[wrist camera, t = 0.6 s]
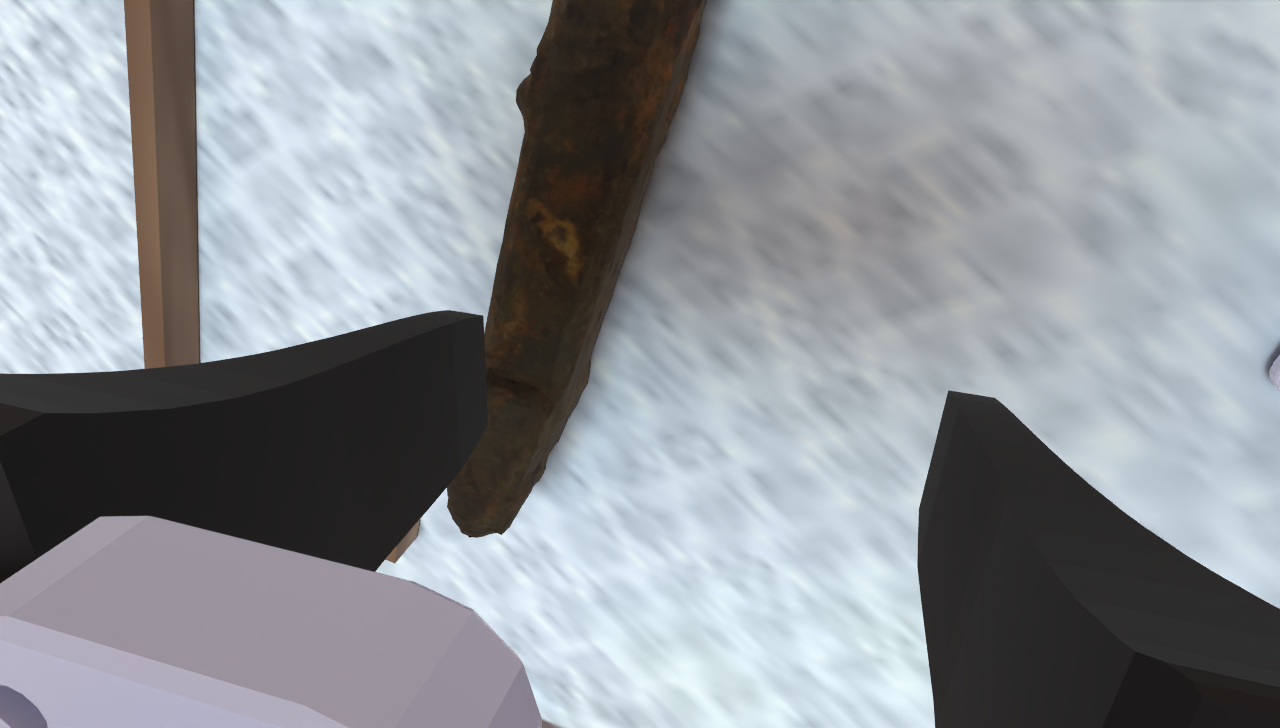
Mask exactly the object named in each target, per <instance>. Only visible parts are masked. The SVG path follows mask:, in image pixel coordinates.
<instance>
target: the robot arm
mask: <svg viewBox="0 0 1280 728" xmlns="http://www.w3.org/2000/svg"><path fill="white" fill-rule="evenodd" d="M1269 376H1270V380H1271V381H1272V383H1273V385H1274V386H1275V387H1276V388H1277V389H1278V390H1279V391H1280V355H1279V356H1278V358H1277V359H1276V360H1275V361H1274V363H1273V364H1272V366H1271V369H1270V371H1269ZM487 426H488V410H487V388H486V367H485V345H484V323H483V316H482V315H476V314H469V313H463V312H457V311H451V310H447V311H437V312H430V313H425V314H420V315H416V316H411V317H407V318H403V319H399V320H395V321H391V322H387V323H383V324H380V325H376V326H372V327H368V328H365V329H361V330H357V331H353V332H350V333H346V334H342V335H338V336H334V337H330V338H326V339H322V340H317V341H313V342H309V343H305V344H301V345H296V346H292V347H288V348H284V349H280V350H275V351H270V352H265V353H260V354H255V355H249V356H244V357H238V358H232V359H225V360H219V361H213V362H206V363H199V364H191V365H180V366H170V367H160V368H149V369H139V370H128V371H114V372H94V373H65V374H0V728H542V726H541V716H540V713H539V710H538V707H537V704H536V701H535V698H534V695H533V692H532V689H531V686H530V683H529V680H528V677H527V674H526V671H525V668H524V666H523V663H522V661H521V660H520V658H519V657H518V655H517V654H516V653H515V652H514V651H513V650H512V649H511V648H510V647H509V646H508V645H507V644H506V643H505V642H504V641H503V640H502V639H501V638H500V637H499V636H498V635H497V634H496V633H495V632H494V631H493V630H492V628H491V627H490V626H489V625H488V624H487V623H486V622H485V621H484V620H483V619H482V618H481V617H480V616H479V615H478V614H477V613H476V612H475V611H474V610H473V609H471V608H469V607H467V606H465V605H462V604H460V603H458V602H456V601H454V600H452V599H450V598H448V597H445V596H443V595H441V594H439V593H437V592H435V591H433V590H431V589H428V588H426V587H424V586H422V585H420V584H418V583H416V582H413V581H409V580H405V579H401V578H397V577H393V576H389V575H385V574H381V573H377V572H375V571H376V570H377V569H378V567H379V566H380V565H381V564H382V562H383V561H384V560H385V559H386V558H387V557H388V555H389V554H390V553H391V552H392V551H393V550H394V548H395V547H396V546H397V545H398V544H399V543H400V541H401V540H402V539H403V538H404V537H405V536H406V534H407V533H408V532H409V531H410V530H411V529H412V527H413V526H414V525H415V524H416V523H417V522H418V520H419V519H420V518H421V517H422V516H423V515H424V513H425V512H426V511H427V510H428V509H429V508H430V507H431V505H432V504H433V503H434V502H435V501H436V499H437V498H438V497H439V496H440V495H441V493H442V492H443V491H444V490H445V489H446V488H447V486H448V485H449V484H450V483H451V482H452V480H453V479H454V478H455V477H456V475H457V474H458V473H459V472H460V470H461V469H462V468H463V466H464V464H465V463H466V461H467V460H468V458H469V457H470V455H471V453H472V452H473V450H474V449H475V447H476V445H477V443H478V442H479V440H480V438H481V436H482V435H483V433H484V431H485V430H486V428H487ZM918 575H919V584H920V593H921V602H922V610H923V618H924V627H925V635H926V643H927V651H928V659H929V667H930V675H931V684H932V692H933V700H934V714H935V728H1280V609H1279V608H1277V607H1275V606H1273V605H1271V604H1269V603H1267V602H1266V601H1264V600H1262V599H1260V598H1258V597H1257V596H1255V595H1253V594H1251V593H1250V592H1248V591H1246V590H1244V589H1243V588H1241V587H1239V586H1237V585H1235V584H1234V583H1232V582H1230V581H1228V580H1227V579H1225V578H1223V577H1221V576H1219V575H1218V574H1216V573H1214V572H1213V571H1211V570H1209V569H1208V568H1206V567H1204V566H1203V565H1201V564H1200V563H1198V562H1196V561H1195V560H1193V559H1191V558H1190V557H1188V556H1187V555H1185V554H1184V553H1182V552H1181V551H1179V550H1178V549H1176V548H1175V547H1173V546H1172V545H1170V544H1169V543H1167V542H1166V541H1164V540H1163V539H1161V538H1160V537H1158V536H1157V535H1155V534H1154V533H1152V532H1151V531H1149V530H1148V529H1147V528H1145V527H1144V526H1142V525H1141V524H1139V523H1138V522H1137V521H1135V520H1134V519H1133V518H1131V517H1130V516H1129V515H1127V514H1126V513H1125V512H1123V511H1122V510H1121V509H1119V508H1118V507H1117V506H1116V505H1114V504H1113V503H1112V502H1111V501H1109V500H1108V499H1107V498H1106V497H1104V496H1103V495H1102V494H1101V493H1099V492H1098V491H1097V490H1096V489H1095V488H1093V487H1092V486H1091V485H1090V484H1088V483H1087V482H1086V481H1085V480H1084V479H1083V478H1081V477H1080V476H1079V475H1078V474H1077V473H1076V472H1074V471H1073V470H1072V469H1071V468H1070V467H1069V466H1068V465H1067V464H1066V463H1064V462H1063V461H1062V460H1061V459H1060V458H1059V457H1058V456H1057V455H1056V454H1055V453H1054V452H1052V451H1051V450H1050V449H1049V448H1048V447H1047V446H1046V445H1045V444H1044V443H1043V442H1042V441H1041V440H1040V439H1039V438H1038V437H1037V436H1036V435H1035V434H1033V433H1032V432H1031V431H1030V430H1029V429H1028V428H1027V427H1026V426H1025V425H1024V424H1023V423H1022V422H1021V421H1020V420H1019V419H1018V418H1017V417H1016V416H1015V415H1014V414H1013V413H1012V412H1011V411H1010V410H1008V409H1007V408H1006V407H1005V406H1004V405H1003V404H1002V403H1001V402H999V401H998V400H997V399H995V398H992V397H986V396H980V395H973V394H967V393H961V392H955V391H948V394H947V399H946V403H945V407H944V411H943V415H942V419H941V423H940V427H939V431H938V435H937V439H936V443H935V447H934V451H933V455H932V459H931V463H930V467H929V471H928V475H927V479H926V483H925V487H924V491H923V495H922V499H921V503H920V507H919V526H918Z"/></svg>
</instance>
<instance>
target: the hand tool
mask: <svg viewBox="0 0 1280 728" xmlns="http://www.w3.org/2000/svg"><path fill="white" fill-rule="evenodd" d="M706 2H707V0H553V3H552V8H551V13H550V17H549V22H548V25H547V27H546V30H545V32H544V35H543V37H542V39H541V41H540V43H539V45H538V47H537V56H536V58H535V60H534V62H533V64H532V66H531V69H530V71H531V74H530V75H529V76H528V77H526V78H525V79H524V80H523V82H522V83H521V84H520V85H519V87H518V89H517V93H516V102H517V105H518V107H519V109H520V111H521V113H522V116H523V120H524V128H525V134H524V138H523V143H522V147H521V152H520V158H519V163H518V168H517V173H516V178H515V183H514V187H513V192H512V196H511V200H510V204H509V209H508V214H507V219H506V224H505V230H504V236H503V242H502V247H501V251H500V255H499V259H498V263H497V268H496V274H495V280H494V286H493V291H492V297H491V302H490V307H489V312H488V318H487V323H486V328H485V333H484V345H485V367H486V388H487V410H488V426H487V428H486V430H485V431H484V433H483V435H482V436H481V438H480V440H479V442H478V443H477V445H476V447H475V449H474V450H473V452H472V453H471V455H470V457H469V458H468V460H467V461H466V463H465V464H464V466H463V468H462V469H461V470H460V472H459V473H458V474H457V475H456V477H455V478H454V479H453V480H452V482H451V483H450V484H449V485H448V486H447V493H448V497H449V498H448V505H447V507H448V509H449V511H450V514H451V516H452V519H453V520H454V522H455V523H456V524H457V526H458V527H459V528H460V530H461V532H462V533H463V534H465V535H468V536H469V537H476V538H478V537H483V536H486V535H489V534H493V533H499V534H501V535H502V534H503V533H504V532H505V531H506V530H507V529H508V528H509V527H510V526H511V524H512V522H513V520H514V518H515V517H516V515H517V514H518V512H519V510H520V508H521V507H522V505H523V504H524V502H525V500H526V499H527V497H528V496H529V494H530V493H531V491H532V488H533V486H534V485H535V484H536V483H537V482H538V481H539V480H540V478H541V477H542V475H543V473H544V471H545V469H546V462H547V458H548V455H549V453H550V451H551V450H552V448H553V446H554V445H555V444H556V443H557V442H558V441H559V439H560V437H561V434H562V432H563V429H564V427H565V425H566V423H567V420H568V418H569V417H570V415H571V413H572V412H573V410H574V409H575V407H576V405H577V403H578V401H579V398H580V396H581V394H582V392H583V390H584V389H585V387H586V385H587V384H588V378H589V372H590V360H589V359H590V356H591V353H592V350H593V347H594V344H595V342H596V339H597V336H598V333H599V330H600V327H601V324H602V321H603V319H604V316H605V313H606V310H607V308H608V305H609V303H610V300H611V297H612V294H613V291H614V288H615V285H616V282H617V279H618V276H619V273H620V270H621V267H622V264H623V261H624V258H625V256H626V253H627V250H628V248H629V245H630V242H631V240H632V237H633V234H634V231H635V228H636V224H637V221H638V217H639V213H640V208H641V203H642V199H643V196H644V193H645V190H646V187H647V185H648V182H649V179H650V176H651V174H652V170H653V166H654V162H655V159H656V157H657V155H658V153H659V151H660V149H661V148H662V146H663V144H664V142H665V140H666V132H667V129H668V127H669V125H670V123H671V120H672V118H673V116H674V114H675V112H676V109H677V106H678V103H679V100H680V97H681V94H682V91H683V88H684V86H685V83H686V80H687V76H688V69H689V63H690V59H691V56H692V53H693V50H694V48H695V45H696V42H697V39H698V36H699V28H700V19H701V16H702V13H703V10H704V7H705V5H706Z"/></svg>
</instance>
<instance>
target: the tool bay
mask: <svg viewBox="0 0 1280 728" xmlns="http://www.w3.org/2000/svg"><path fill="white" fill-rule="evenodd" d="M124 10H125V27H126V45H127V63H128V80H129V98H130V116H131V133H132V151H133V169H134V186H135V204H136V222H137V239H138V257H139V275H140V292H141V310H142V328H143V345H144V363H145V369H149V368H160V367H170V366H180V365H191V364H199V305H198V245H197V186H196V127H195V68H194V8H193V0H124ZM419 523H420V520H418V522H417V523H416V524H415V525H414V526H413V527H412V529H411V530H410V531H409V532H408V533H407V534H406V536H405V537H404V538H403V539H402V540H401V541H400V543H399V544H398V545H397V546H396V547H395V548H394V550H393V551H392V552H391V553H390V554H389V555H388V557H387V558H386V560H388V561H391V562H393V563H396V561H397V560H398V559H399V558H400V557H401V555H402V554H403V553H404V552H405V551H406V550H407V548H408V547H409V546H410V545H411V544H412V542H413V541H414V540H415V539H416V538H417V536H418V530H419Z"/></svg>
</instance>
